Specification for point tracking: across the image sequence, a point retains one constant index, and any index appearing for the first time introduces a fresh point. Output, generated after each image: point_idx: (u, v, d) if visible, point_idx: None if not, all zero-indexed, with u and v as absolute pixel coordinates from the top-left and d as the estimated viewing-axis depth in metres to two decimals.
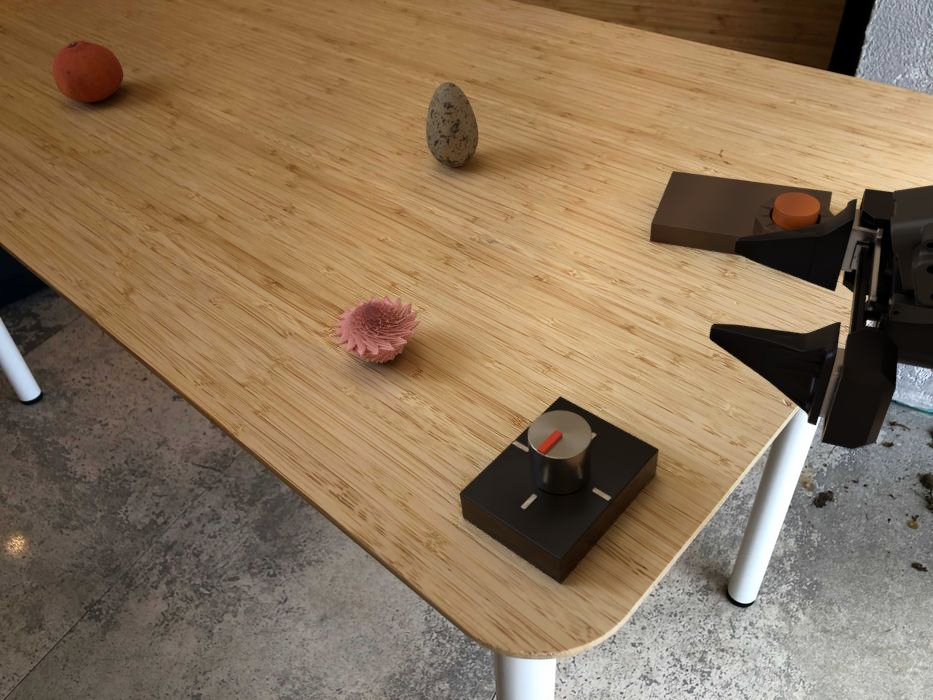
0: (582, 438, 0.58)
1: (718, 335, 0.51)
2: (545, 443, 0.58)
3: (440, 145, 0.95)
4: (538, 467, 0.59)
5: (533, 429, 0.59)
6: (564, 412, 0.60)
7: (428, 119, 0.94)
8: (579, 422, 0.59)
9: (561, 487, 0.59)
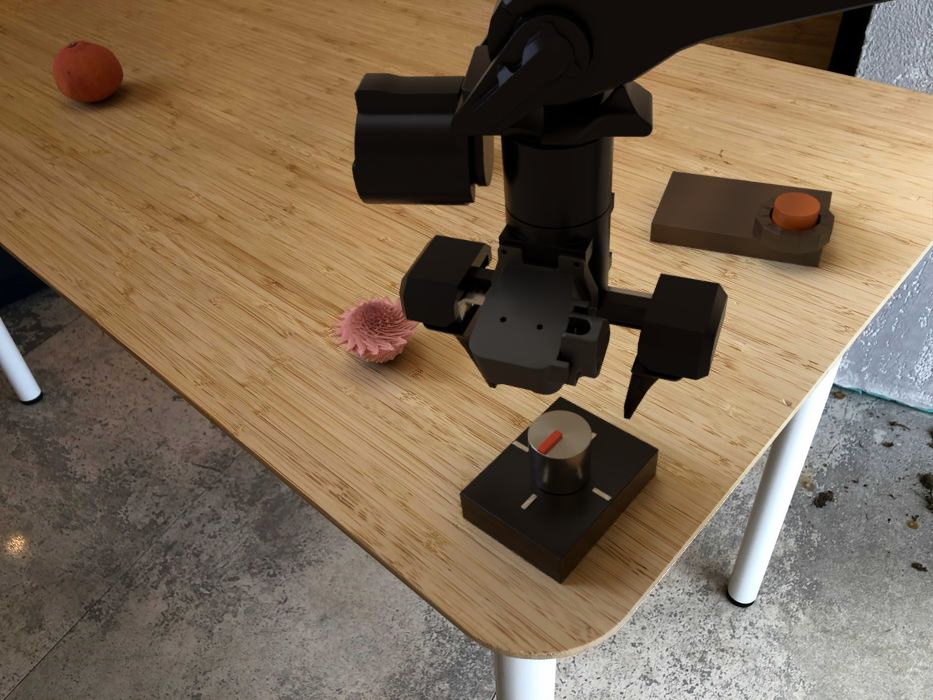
0: (582, 438, 0.58)
1: None
2: (545, 443, 0.58)
3: None
4: (538, 467, 0.59)
5: (533, 429, 0.59)
6: (564, 412, 0.60)
7: None
8: (579, 422, 0.59)
9: (561, 487, 0.59)
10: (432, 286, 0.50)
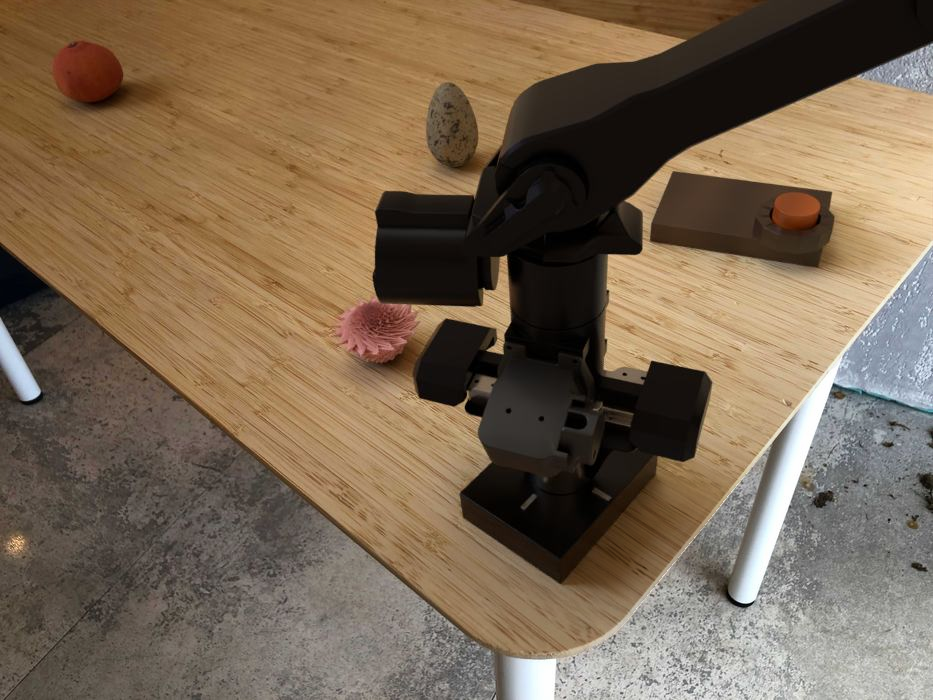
0: None
1: None
2: None
3: (440, 145, 0.95)
4: None
5: None
6: None
7: (428, 119, 0.94)
8: None
9: (561, 487, 0.59)
10: (443, 370, 0.55)
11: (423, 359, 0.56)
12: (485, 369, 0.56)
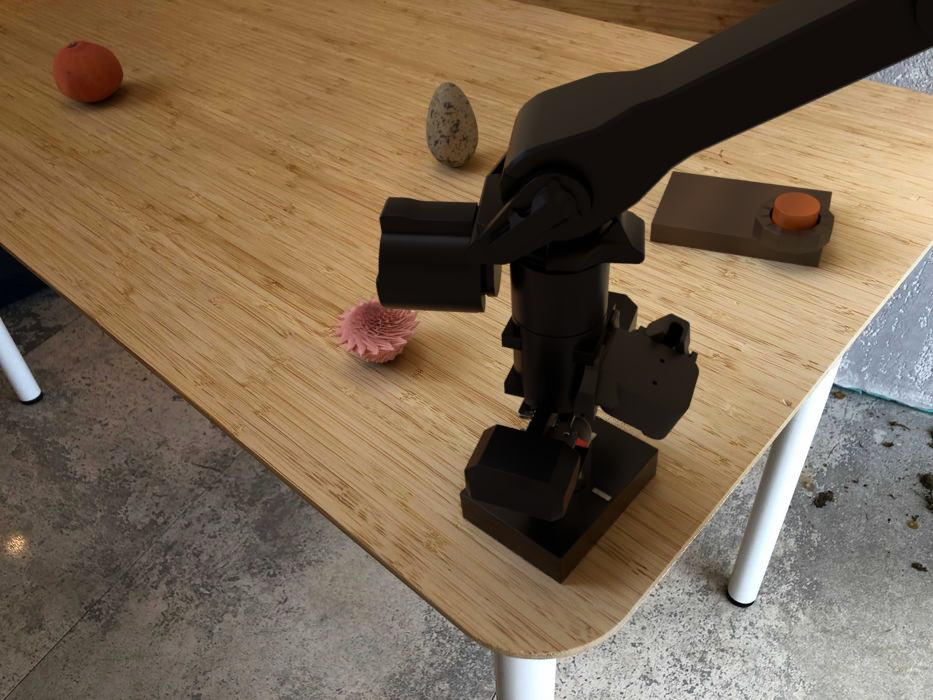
0: None
1: None
2: None
3: (440, 145, 0.95)
4: (583, 466, 0.58)
5: None
6: None
7: (428, 119, 0.94)
8: None
9: None
10: (561, 464, 0.49)
11: (547, 480, 0.48)
12: None
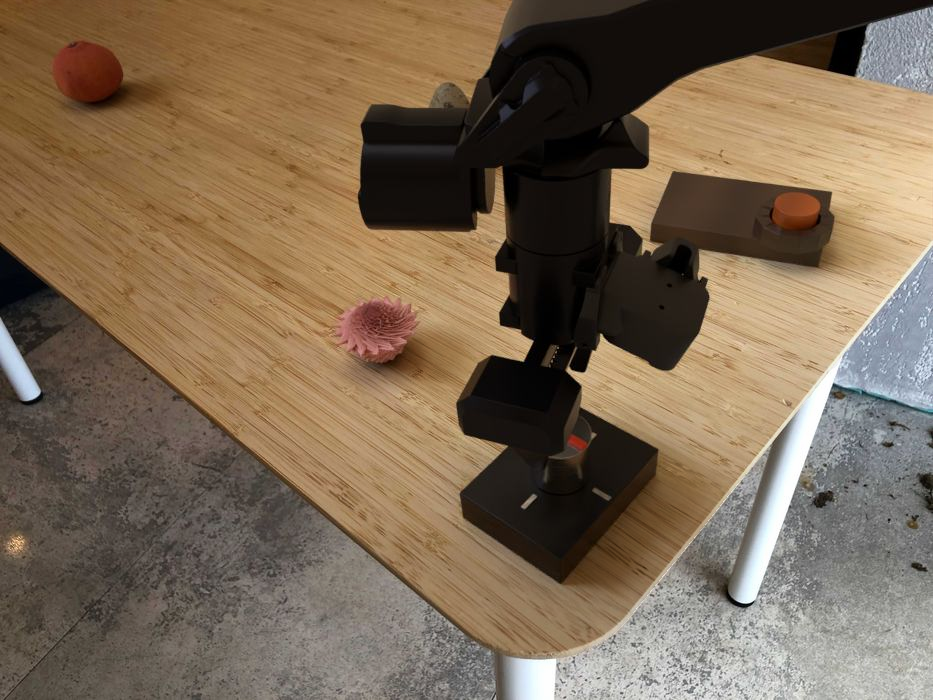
0: None
1: None
2: (576, 441, 0.57)
3: None
4: (583, 466, 0.58)
5: None
6: None
7: None
8: None
9: None
10: (561, 394, 0.45)
11: (546, 410, 0.44)
12: None
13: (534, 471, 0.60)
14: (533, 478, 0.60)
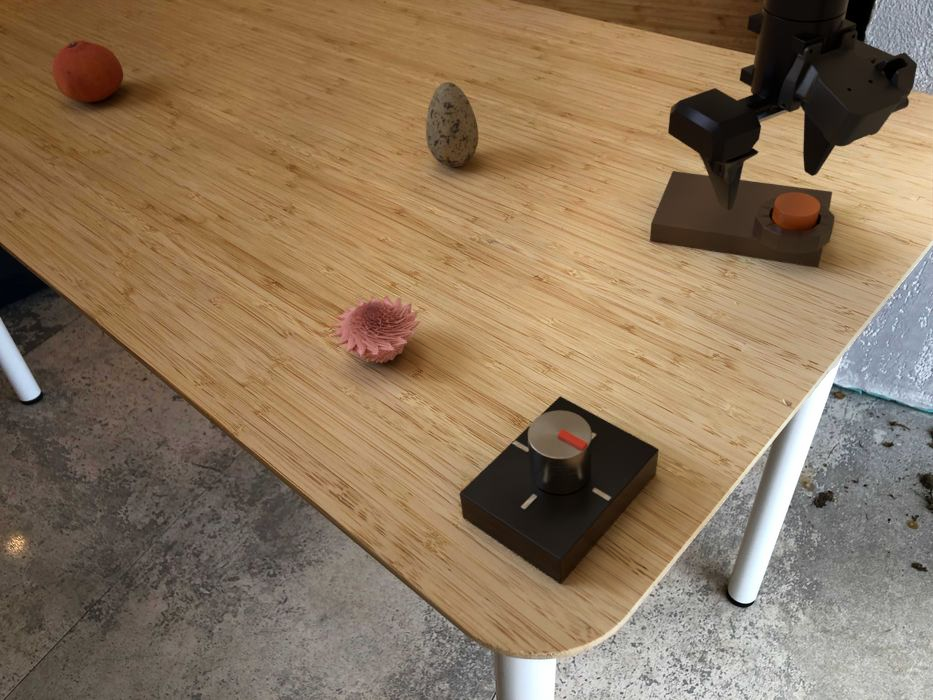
0: (565, 416, 0.60)
1: None
2: (576, 441, 0.57)
3: (440, 145, 0.95)
4: (583, 466, 0.58)
5: (554, 453, 0.57)
6: (531, 429, 0.59)
7: (428, 119, 0.94)
8: (545, 418, 0.60)
9: None
10: (739, 120, 0.61)
11: (719, 122, 0.61)
12: None
13: (534, 471, 0.60)
14: (533, 478, 0.60)
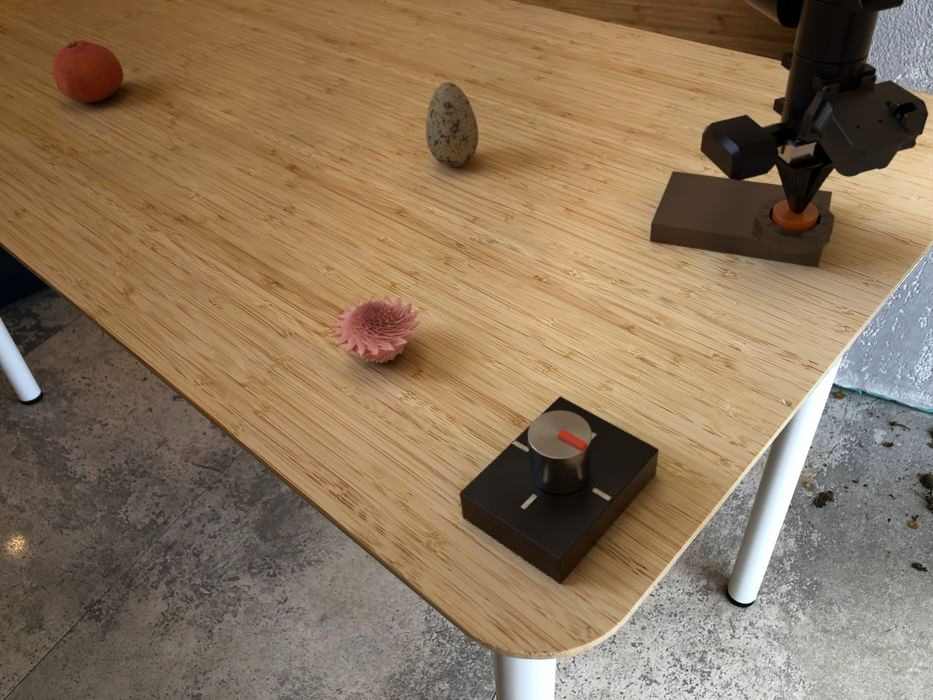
0: (565, 416, 0.60)
1: None
2: (576, 441, 0.57)
3: (440, 145, 0.95)
4: (583, 466, 0.58)
5: (554, 453, 0.57)
6: (531, 429, 0.59)
7: (428, 119, 0.94)
8: (545, 418, 0.60)
9: None
10: (758, 145, 0.70)
11: (739, 145, 0.70)
12: (789, 135, 0.72)
13: (534, 471, 0.60)
14: (533, 478, 0.60)
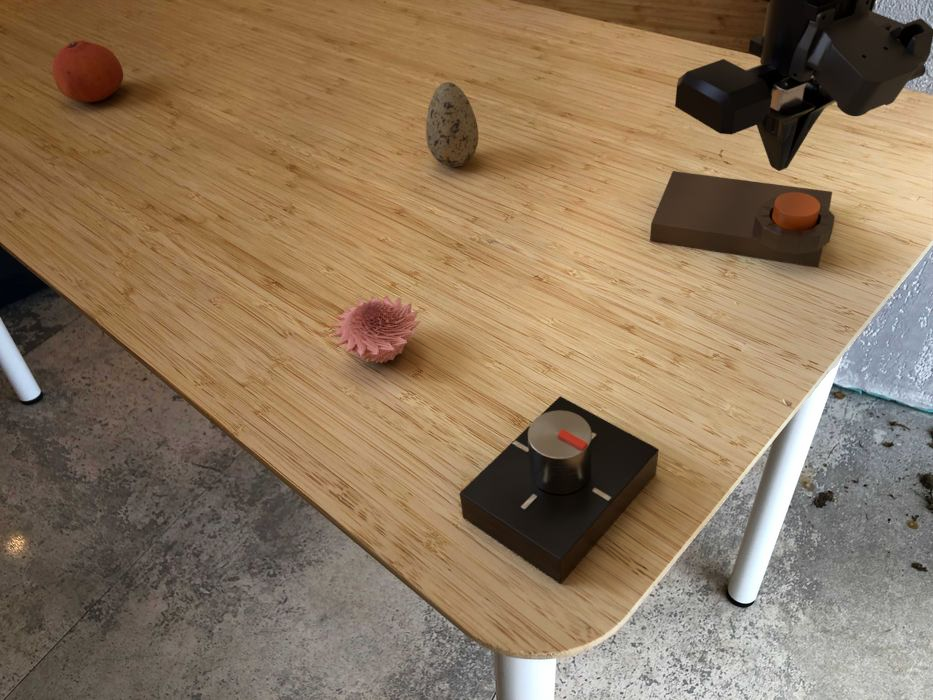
0: (565, 416, 0.60)
1: None
2: (576, 441, 0.57)
3: (440, 145, 0.95)
4: (583, 466, 0.58)
5: (554, 453, 0.57)
6: (531, 429, 0.59)
7: (428, 119, 0.94)
8: (545, 418, 0.60)
9: None
10: (749, 91, 0.59)
11: (728, 92, 0.59)
12: (774, 78, 0.63)
13: (534, 471, 0.60)
14: (533, 478, 0.60)
